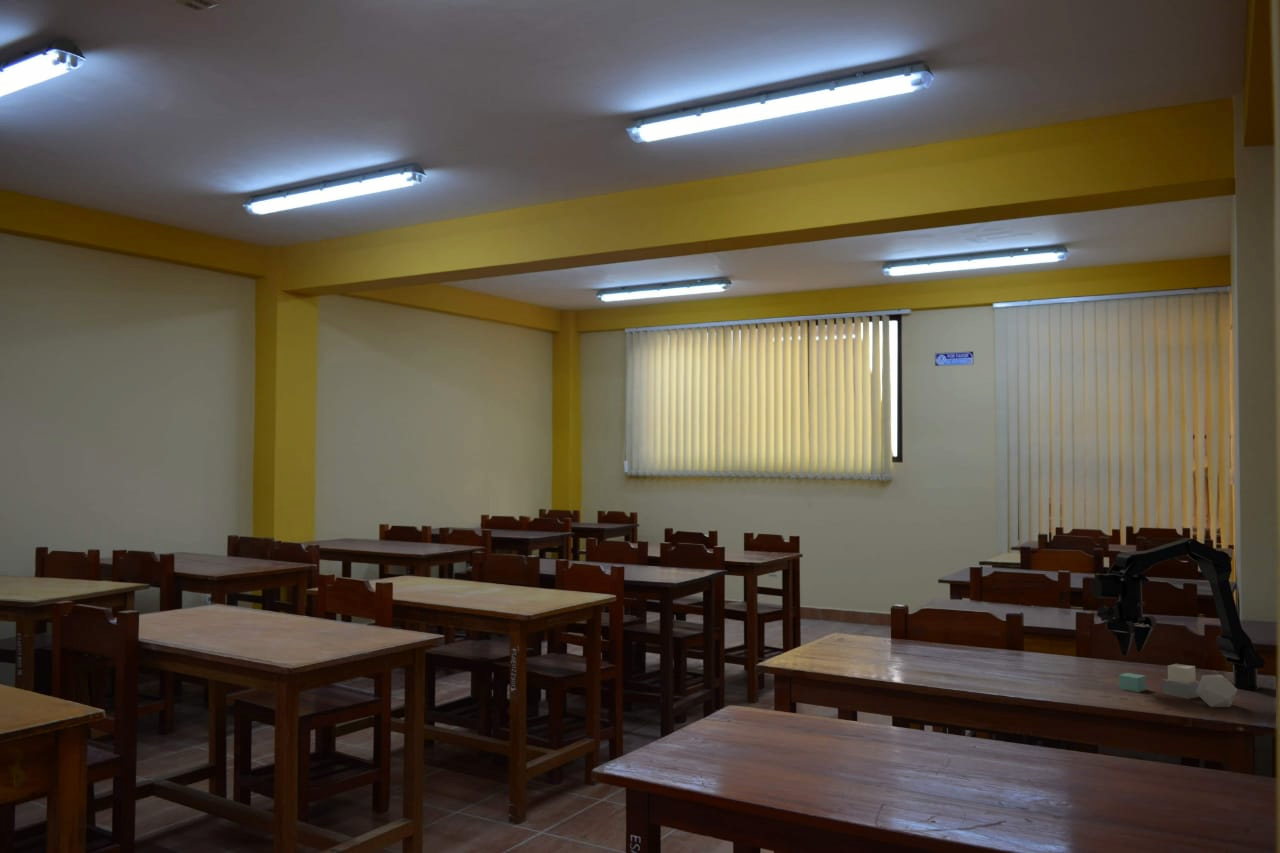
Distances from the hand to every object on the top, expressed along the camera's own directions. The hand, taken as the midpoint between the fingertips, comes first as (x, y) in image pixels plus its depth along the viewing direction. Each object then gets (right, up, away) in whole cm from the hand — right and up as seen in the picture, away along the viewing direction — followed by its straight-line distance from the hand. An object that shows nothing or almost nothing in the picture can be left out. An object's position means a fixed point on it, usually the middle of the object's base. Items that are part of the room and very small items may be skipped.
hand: (1132, 653), depth 261 cm
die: (+12, -9, -19) cm, 24 cm away
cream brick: (+10, -6, -6) cm, 14 cm away
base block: (+10, -10, -7) cm, 16 cm away
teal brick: (0, -10, 0) cm, 10 cm away
